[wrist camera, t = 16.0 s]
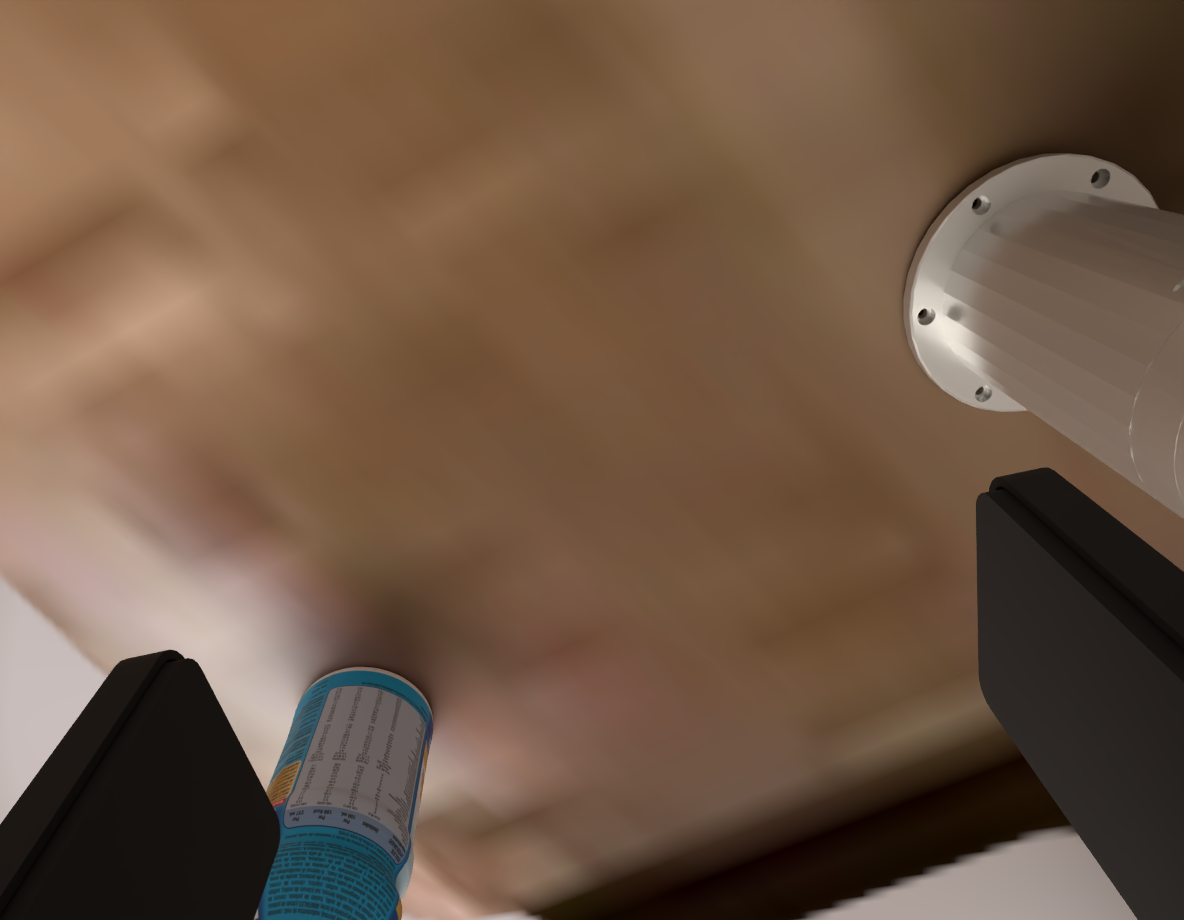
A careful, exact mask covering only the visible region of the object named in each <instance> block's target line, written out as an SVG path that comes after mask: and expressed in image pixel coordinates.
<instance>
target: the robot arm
mask: <svg viewBox="0 0 1184 920" xmlns="http://www.w3.org/2000/svg"><path fill="white" fill-rule="evenodd" d="M1093 174H1094V176H1093ZM1092 176H1093V179H1092ZM1091 179H1092V180H1091ZM976 198H977V204H976V205H975V207H973V208H972V205H973V202H974V200H975V199H976ZM922 309H923V310H924V311H923V313H922V315H920V316H918V314H919V312H920V311H921V310H922ZM903 321H904V326H905V331H906V335H907V340H908V344H909V346H910V348H911V350H912V352H913V355H914V357H915V359H916V361H917V363H918V364H919V365H920V367H921V368H922V369H923V371H924V372H925V373H926V375H927V376H928V377H929V378H930V379H931V380H932V381H933V382H935V383H936V384H937V385H938V386H939V387H940V388H941V389H942V390H944V391H945V392H947V393H948V394H950V395H951V396H953V397H955V398H956V399H958V400H959V401H961V402H963V403H966V404H968V405H971V406H973V407H976V408H980V409H986V410H992V411H999V412H1013V411H1027V410H1029V411H1030V412H1032V413H1033V414H1035V415H1036V416H1037V417H1039V418H1040V419H1042V420H1043V421H1045V422H1046V423H1047V424H1049V425H1050V426H1052V427H1053V428H1055V429H1056V430H1057V431H1059V432H1060V433H1062V434H1063V435H1065V436H1066V437H1067V438H1069V439H1070V440H1072V441H1073V442H1075V443H1076V444H1077V445H1079V446H1080V447H1082V448H1083V449H1085V450H1086V451H1087V452H1089V453H1090V454H1092V455H1093V456H1095V457H1096V458H1097V459H1099V460H1100V461H1102V462H1103V463H1105V464H1106V465H1107V466H1109V467H1110V468H1112V469H1113V470H1115V471H1116V472H1117V473H1119V474H1120V475H1122V476H1123V477H1125V478H1126V479H1127V480H1129V481H1130V482H1132V483H1133V484H1135V485H1136V486H1137V487H1139V488H1140V489H1142V490H1143V491H1145V492H1146V493H1147V494H1149V495H1150V496H1152V497H1153V498H1155V499H1156V500H1158V501H1159V502H1160V503H1162V504H1163V505H1164V506H1166V507H1167V508H1168V509H1170V510H1171V511H1173V512H1174V513H1176V514H1177V515H1178V516H1180V517H1181V518H1183V519H1184V215H1183V214H1178V213H1174V212H1169V211H1165V210H1160V209H1159V207H1158V206H1157V204H1156V202H1155V200H1154V198H1153V197H1152V195H1151V193H1150V191H1149V190H1148V189H1147V188H1146V187H1145V186H1144V185H1143V184H1142V183H1141V182H1140V181H1139V180H1138V179H1137V178H1136V177H1135V176H1134V175H1133V174H1131V173H1129V172H1128V171H1126V170H1124V169H1123V168H1121V167H1119V166H1118V165H1116V164H1115V163H1112V162H1108V161H1105V160H1102V159H1099V158H1096V157H1093V156H1087V155H1080V154H1073V153H1047V154H1040V155H1035V156H1031V157H1027V158H1022V159H1018V160H1016V161H1013V162H1011V163H1008V164H1006V165H1004V166H1001V167H999V168H997V169H994V170H992V171H991V172H989V173H988V174H986V175H984V176H983V177H981V178H980V179H978V180H977V181H975V182H973V183H972V184H970V185H969V186H968V187H967V188H966V189H964V190H963V191H962V192H961V193H960V194H959V195H958V196H957V197H955V198H954V199H953V200H952V201H951V202H950V203H949V204H948V205H947V206H946V207H945V209H944V210H943V211H942V212H941V213H940V215H939V216H938V217H937V218H936V220H935V221H934V222H933V223H932V225H931V226H930V228H929V229H928V231H927V233H926V234H925V236H924V238H923V240H922V241H921V243H920V245H919V247H918V248H917V251H916V253H915V256H914V259H913V261H912V264H911V266H910V269H909V272H908V276H907V281H906V286H905V292H904V297H903ZM978 388H979V389H978ZM976 536H977V597H978V659H979V681H980V685H981V689H982V692H983V695H984V697H985V699H986V702H987V704H988V705H989V707H990V709H991V710H992V712H993V713H994V714H995V716H996V717H997V719H998V720H999V722H1000V723H1001V724H1002V726H1003V727H1004V729H1005V730H1006V732H1007V733H1008V734H1009V736H1010V737H1011V739H1012V740H1013V742H1014V743H1015V744H1016V746H1017V747H1018V749H1019V750H1020V752H1021V753H1022V755H1023V756H1024V757H1025V759H1026V760H1027V762H1028V763H1029V765H1030V766H1031V767H1032V769H1033V770H1034V772H1035V773H1036V775H1037V776H1038V777H1039V779H1040V780H1041V782H1042V783H1043V785H1044V786H1045V787H1046V789H1047V790H1048V792H1049V793H1050V795H1051V796H1052V797H1053V799H1054V800H1055V802H1056V803H1057V805H1058V806H1059V807H1060V809H1061V810H1062V812H1063V813H1064V815H1065V816H1066V817H1067V819H1068V820H1069V822H1070V823H1071V825H1072V826H1073V827H1074V829H1075V830H1076V832H1077V833H1078V835H1079V836H1080V837H1081V839H1082V840H1083V842H1084V843H1085V845H1086V846H1087V848H1088V849H1089V850H1090V851H1091V853H1092V855H1093V856H1094V858H1095V859H1096V860H1097V862H1098V863H1099V865H1100V866H1101V868H1102V869H1103V870H1104V872H1105V873H1106V875H1107V876H1108V878H1109V879H1110V880H1111V882H1112V883H1113V885H1114V886H1115V887H1116V889H1117V890H1118V892H1119V893H1120V895H1121V896H1122V897H1123V899H1124V900H1125V902H1126V903H1127V905H1128V906H1129V908H1130V909H1131V910H1132V912H1133V913H1134V915H1135V916H1136V917H1137V919H1138V920H1184V572H1183V571H1182V570H1180V569H1179V568H1178V567H1177V566H1175V565H1174V564H1173V563H1172V562H1170V561H1169V560H1168V559H1166V558H1165V557H1164V556H1163V555H1161V554H1160V553H1159V552H1157V551H1156V550H1155V549H1154V548H1152V547H1151V546H1150V545H1149V544H1147V543H1146V542H1145V541H1143V540H1142V539H1141V538H1140V537H1138V536H1137V535H1136V534H1134V533H1133V532H1132V531H1131V530H1129V529H1128V528H1127V527H1126V526H1124V525H1123V524H1122V523H1120V522H1119V521H1118V520H1117V519H1115V518H1114V517H1113V516H1112V515H1110V514H1109V513H1108V512H1106V511H1105V510H1104V509H1103V508H1101V507H1100V506H1099V505H1097V504H1096V503H1095V502H1094V501H1092V500H1091V499H1090V498H1089V497H1087V496H1086V495H1085V494H1083V493H1082V492H1081V491H1080V490H1078V489H1077V488H1076V487H1074V486H1073V485H1072V484H1071V483H1069V482H1068V481H1067V480H1066V479H1064V478H1063V477H1062V476H1060V475H1059V474H1058V473H1057V472H1055V471H1054V470H1052V469H1050V468H1039V469H1034V470H1029V471H1025V472H1020V473H1015V474H1010V475H1005V476H1001V477H996V478H995V479H994V480H993V481H992V482H991V485H990V488H989V492H986V493H981V494H980V495H979V496H978V498H977V501H976ZM279 844H280V823H279V819H278V816H277V813H276V811H275V810H274V808H273V806H272V804H271V802H270V800H269V798H268V796H267V794H266V792H265V790H264V788H263V786H262V785H261V783H260V781H259V779H258V777H257V775H256V773H255V771H254V769H253V767H252V765H251V763H250V761H249V760H248V758H247V756H246V754H245V752H244V750H243V748H242V746H241V744H240V742H239V740H238V738H237V736H236V734H235V733H234V731H233V729H232V727H231V725H230V723H229V721H228V719H227V717H226V715H225V713H224V711H223V709H222V708H221V706H220V704H219V702H218V700H217V698H216V696H215V694H214V692H213V690H212V688H211V686H210V684H209V683H208V681H207V679H206V677H205V675H204V673H203V671H202V669H201V667H200V666H199V664H198V663H197V662H196V661H194V660H193V659H189V658H187V659H185V658H184V657H183V656H182V655H181V654H180V653H178V652H177V651H174V650H166V651H162V652H157V653H152V654H147V655H142V656H138V657H133V658H128V659H125V660H122V661H120V662H119V663H118V664H117V665H116V666H115V667H114V669H113V670H112V671H111V673H110V674H109V675H108V677H107V678H106V680H105V681H104V682H103V684H102V685H101V687H100V688H99V689H98V691H97V692H96V693H95V695H94V696H93V698H92V699H91V700H90V702H89V703H88V704H87V706H86V707H85V709H84V710H83V711H82V713H81V714H80V716H79V717H78V719H77V720H76V721H75V722H74V724H73V725H72V727H71V728H70V729H69V731H68V732H67V733H66V735H65V736H64V738H63V739H62V740H61V742H60V743H59V744H58V746H57V747H56V749H55V750H54V751H53V753H52V754H51V755H50V757H49V758H48V760H47V761H46V762H45V764H44V765H43V766H42V768H41V769H40V771H39V772H38V773H37V775H36V776H35V778H34V779H33V780H32V782H31V783H30V785H29V786H28V787H27V789H26V790H25V791H24V793H23V794H22V795H21V797H20V798H19V800H18V801H17V802H16V804H15V805H14V806H13V808H12V809H11V811H10V812H9V813H8V815H7V816H6V817H5V819H4V820H3V822H2V823H1V824H0V920H254V918H255V915H256V912H257V909H258V906H259V903H260V900H261V897H262V895H263V892H264V889H265V886H266V883H267V880H268V877H269V874H270V871H271V868H272V866H273V863H274V860H275V857H276V854H277V851H278V848H279Z"/></svg>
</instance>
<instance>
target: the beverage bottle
mask: <svg viewBox="0 0 1184 920" xmlns="http://www.w3.org/2000/svg"><path fill="white" fill-rule="evenodd" d="M432 734H433V716H432V711H431V708H430V706H429V704H428V702H427V700H426V698H425V697H424V695H423V694H422V693H421V692H420V691H419V690H418V689H417V688H416V687H415V686H414V685H413V684H412V683H411V682H409V681H408V680H406V679H405V678H403V677H401V676H399V675H397V674H395V673H392V672H390V671H386V670H383V669H378V668H372V667H351V668H345V669H341V670H337V671H334V672H332V673H329V674H327V675H325V676H323V677H322V678H320V679H319V680H317V681H316V682H315V683H313V684H312V685H311V686H310V687H309V688H308V689H307V691H306V692H305V693H304V695H303V696H302V698H301V700H300V702H299V704H298V707H297V709H296V712H295V715H294V718H293V722H292V726H291V729H290V732H289V735H288V738H287V741H286V743H285V746H284V749H283V751H282V754H281V756H280V759H279V761H278V764H277V766H276V769H275V771H274V774H273V776H272V779H271V781H270V784H269V786H268V789H267V791H266V794H267V796H268V798H269V800H270V802H271V804H272V806H273V808H274V810H275V811H276V813H277V816H278V819H279V823H280V844H279V848H278V851H277V854H276V857H275V860H274V863H273V866H272V868H271V871H270V874H269V877H268V880H267V883H266V886H265V889H264V892H263V895H262V897H261V900H260V903H259V906H258V909H257V912H256V915H255V918H254V920H401V917H402V904H401V899H402V898H403V896H404V894H405V892H406V890H407V887H408V885H409V881H410V878H411V874H412V869H413V860H414V854H413V845H414V839H415V832H416V826H417V820H418V814H419V808H420V801H421V795H422V789H423V783H424V777H425V771H426V765H427V759H428V753H429V748H430V744H431V740H432Z"/></svg>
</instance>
